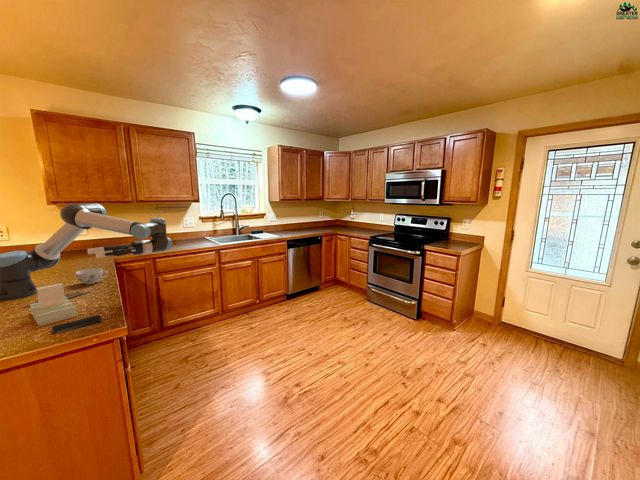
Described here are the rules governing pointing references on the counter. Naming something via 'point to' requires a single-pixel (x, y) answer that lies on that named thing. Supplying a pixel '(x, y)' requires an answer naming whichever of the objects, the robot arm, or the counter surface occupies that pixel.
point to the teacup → (90, 275)
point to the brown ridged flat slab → (66, 296)
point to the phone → (76, 324)
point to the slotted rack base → (53, 313)
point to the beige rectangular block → (51, 296)
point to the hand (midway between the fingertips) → (91, 253)
